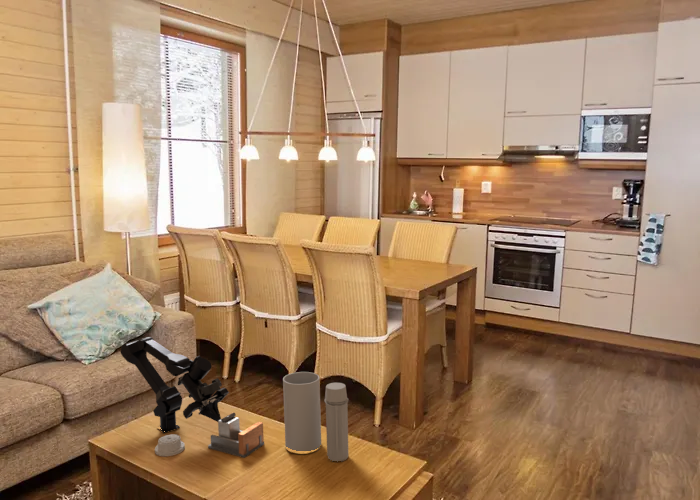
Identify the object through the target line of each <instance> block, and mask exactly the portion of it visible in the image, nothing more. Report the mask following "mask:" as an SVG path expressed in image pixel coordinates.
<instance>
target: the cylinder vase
mask: <svg viewBox="0 0 700 500" xmlns="http://www.w3.org/2000/svg"><path fill="white" fill-rule="evenodd" d="M320 381H321V380H320V376H319V374H317V373H315V372H309V371H299V372H297V371H296V372H292V373H289V374H286V375H285V376H283V378H282V386H283V388H282V389H283V415H284V416H283V417H284V439H285V440H284V441H285V443H284V445H285V446H286V447H288V448H290V449H292V450H296V451H311V450H315V449H317V448H319V447H320V445H321V446H322V423H321V422H322V419H321V418H322V417H321V386H320V384H321V383H320ZM286 447H285V448H286ZM320 448H321V447H320ZM320 448H319V449H320Z"/></svg>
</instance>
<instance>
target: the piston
mask: <svg viewBox="0 0 700 500" xmlns="http://www.w3.org/2000/svg"><path fill="white" fill-rule="evenodd" d="M217 428H218V429H217V430H218V436H220V437H224V438H228V439H232V440H236V441H238V434H239V433H240V430H241V429H240V417H237V416H236V413H235V412H231V413H230V414H229V415H226V416H224V417H223V418H221V420H219V421H218V422H217Z"/></svg>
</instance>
